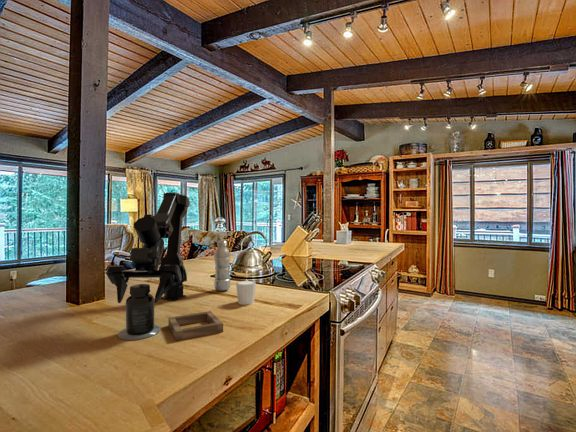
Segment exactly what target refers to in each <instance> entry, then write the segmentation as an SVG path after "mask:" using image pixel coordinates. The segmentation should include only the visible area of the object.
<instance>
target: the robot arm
mask: <svg viewBox="0 0 576 432" xmlns="http://www.w3.org/2000/svg"><path fill="white" fill-rule="evenodd" d="M162 198H163V199H162V201H161V203H160V206H159V207H158V210H157V212H156V214H154V215H153V214H144V215H143V216H142V217H140V218H138V219H137V220H135V221H134V223H133V229H134V231H135V234H136V236H137V238H138V240H139V242H140V243H142V244H143V245H142V247H132V248H131V249H130V254H129V258H128V259H129V261H130V262H132V264H131V265H132V267H133V268H135V269H127V268H126V266H125V265H109V266H108V267H107V269H106V272H105V275H106V276H107V278H108V279H109V282H111V284H112V285H114V286H115V287H116V297H117V299H116V300H117V303H118V304H121V303H122V301H123V299H124V297H125V294H126V292H127V291H126V290H127V288H128V285H129V284H128V282H129V280H130V279H132V278H133V279H136V278H137V279H138V278H144V279H148V278H149V279H157V278H158V279H159V283H158V286H157V289H156V292H155V296H154V303H158V302H159V300H161V299H162V300H167V301H176V300H179V299H180V300H181V299H182V298H186V297H187V295H186V294H184V284H183V283H184V282H187V281H188V275H187V270H186V268H185V265H184V261H183V258H182V257H181V255H180V254H181V253H180V252H181V242H182V241H181V240H182V231H183V230H182V228H183V219H184V218H185V216H186V215H187V214H188V209H189V207H190V198H189V197H188V196H187V195H184V194H180V193H179V192H169V191H168V192H164V193H163V197H162ZM164 239H167V245H166V253H165V254H164V256H162V254H163V252H164V251H165V240H164Z"/></svg>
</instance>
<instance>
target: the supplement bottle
mask: <svg viewBox="0 0 576 432" xmlns="http://www.w3.org/2000/svg"><path fill="white" fill-rule="evenodd" d="M154 325H155V296H154V295H152V294H151V286H150V284H148V283H140V284H134V285H131V286H130V287H129V296H128V297H127V298H126V300H125V329H126V332H127V333H128V334H129V335H142V334H146V333H149V332H151V331H152V330H153V329H154Z"/></svg>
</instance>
